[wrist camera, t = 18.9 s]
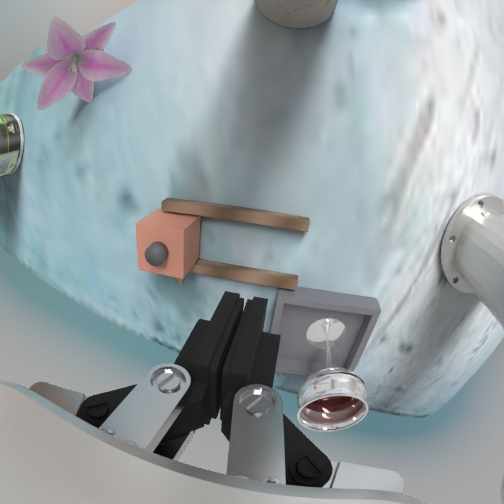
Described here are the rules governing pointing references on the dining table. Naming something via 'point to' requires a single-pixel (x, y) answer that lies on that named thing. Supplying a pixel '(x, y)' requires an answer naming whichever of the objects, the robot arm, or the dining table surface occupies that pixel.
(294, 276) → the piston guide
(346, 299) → the tray
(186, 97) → the dining table surface
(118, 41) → the dining table surface
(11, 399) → the robot arm
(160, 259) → the piston block
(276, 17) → the thermos bottle
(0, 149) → the coffee can
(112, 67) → the lily
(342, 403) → the wineglass
